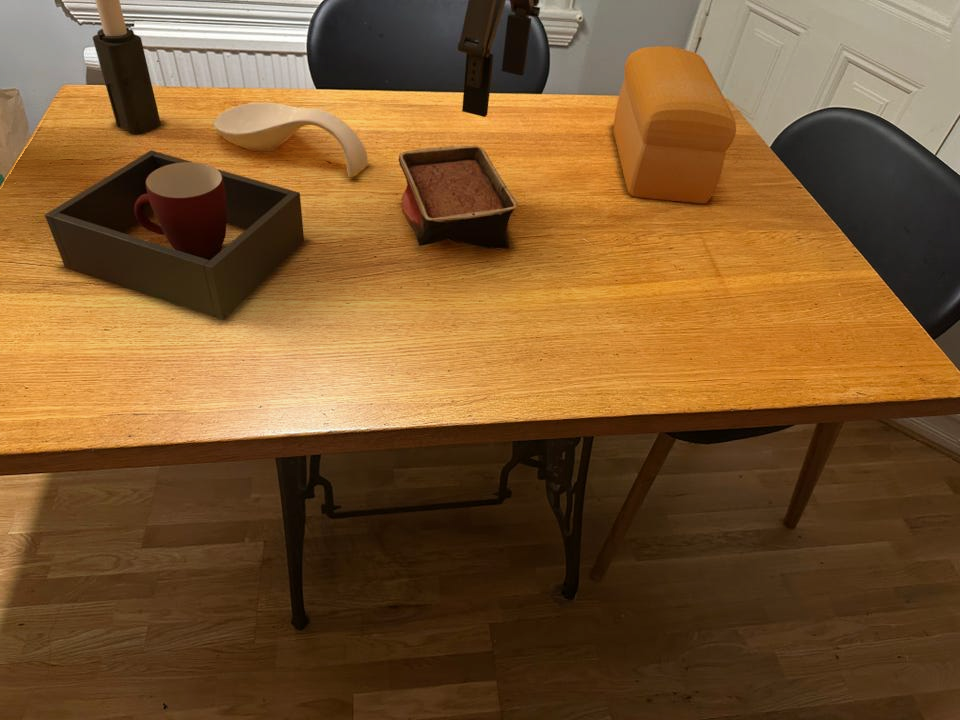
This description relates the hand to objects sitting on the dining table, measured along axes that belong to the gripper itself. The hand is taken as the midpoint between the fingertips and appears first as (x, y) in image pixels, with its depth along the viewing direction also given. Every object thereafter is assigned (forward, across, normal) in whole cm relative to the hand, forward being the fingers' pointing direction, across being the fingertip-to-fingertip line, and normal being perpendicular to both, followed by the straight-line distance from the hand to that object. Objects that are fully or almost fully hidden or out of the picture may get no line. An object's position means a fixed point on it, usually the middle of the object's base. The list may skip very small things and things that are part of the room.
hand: (494, 91), depth 82 cm
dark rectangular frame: (+18, -23, +29) cm, 41 cm away
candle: (+18, +1, +56) cm, 59 cm away
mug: (+18, -23, +29) cm, 41 cm away
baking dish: (+18, -2, +3) cm, 19 cm away
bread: (+18, +31, -19) cm, 41 cm away
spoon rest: (+18, +5, +32) cm, 37 cm away
